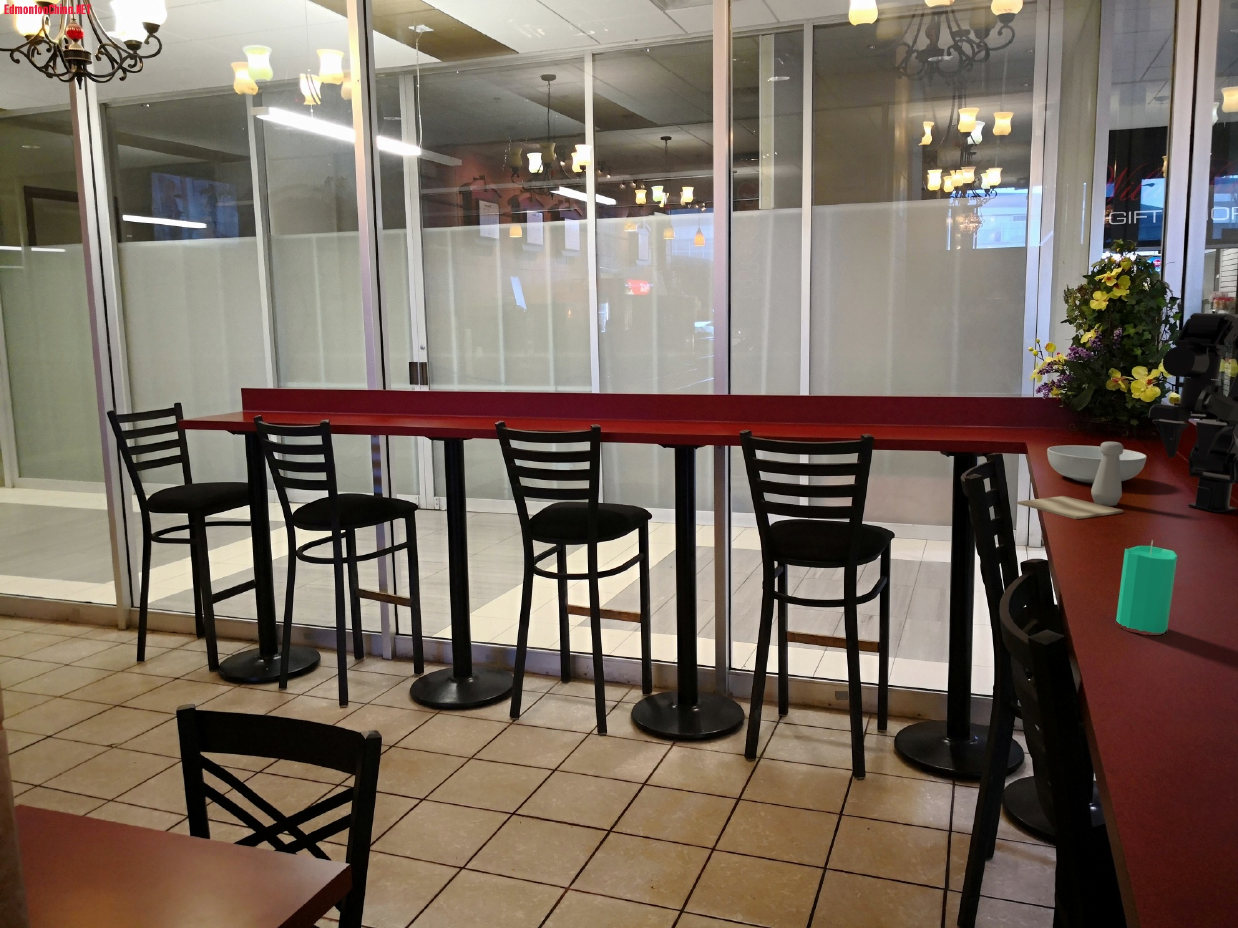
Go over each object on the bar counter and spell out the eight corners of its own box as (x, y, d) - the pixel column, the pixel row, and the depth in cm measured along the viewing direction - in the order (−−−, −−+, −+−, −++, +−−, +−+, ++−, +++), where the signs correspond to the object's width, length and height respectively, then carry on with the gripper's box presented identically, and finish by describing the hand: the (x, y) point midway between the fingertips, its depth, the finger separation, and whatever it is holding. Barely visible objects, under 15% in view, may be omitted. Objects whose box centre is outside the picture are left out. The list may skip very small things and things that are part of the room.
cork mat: (1063, 498, 206) (1063, 495, 206) (1123, 512, 194) (1123, 510, 194) (1017, 503, 200) (1017, 501, 200) (1075, 519, 187) (1076, 516, 187)
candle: (1150, 620, 131) (1161, 534, 129) (1176, 636, 125) (1189, 547, 123) (1106, 619, 131) (1117, 534, 128) (1131, 635, 125) (1142, 546, 123)
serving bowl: (1120, 473, 236) (1124, 445, 234) (1159, 491, 215) (1163, 461, 214) (1032, 470, 238) (1035, 442, 236) (1062, 487, 217) (1065, 457, 216)
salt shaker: (1103, 507, 198) (1110, 445, 196) (1083, 501, 204) (1090, 440, 201) (1126, 506, 200) (1134, 444, 197) (1106, 500, 205) (1113, 439, 203)
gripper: (1208, 379, 175) (1194, 464, 178) (1273, 384, 183) (1258, 465, 185) (1153, 374, 185) (1140, 454, 188) (1216, 379, 193) (1203, 456, 195)
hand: (1187, 458), depth 189 cm, fingers open, 9 cm apart
